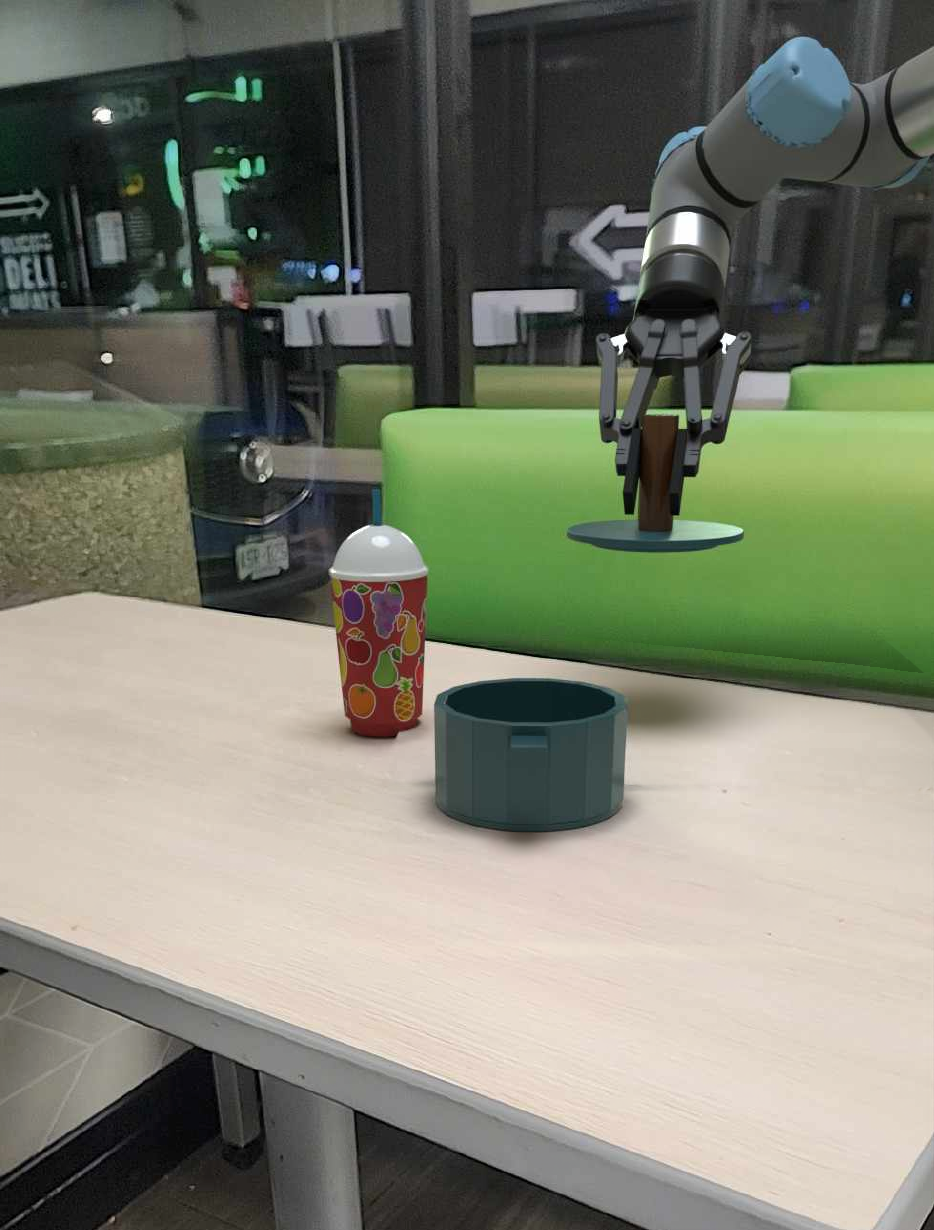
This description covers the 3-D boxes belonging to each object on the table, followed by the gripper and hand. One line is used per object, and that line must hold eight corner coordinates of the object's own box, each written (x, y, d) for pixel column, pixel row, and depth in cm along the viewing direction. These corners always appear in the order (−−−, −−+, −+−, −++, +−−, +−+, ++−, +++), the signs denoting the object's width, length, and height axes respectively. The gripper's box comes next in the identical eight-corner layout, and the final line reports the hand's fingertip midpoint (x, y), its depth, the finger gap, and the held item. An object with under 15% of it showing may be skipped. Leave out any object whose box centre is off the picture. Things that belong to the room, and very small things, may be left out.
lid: (731, 532, 114) (740, 410, 109) (754, 556, 100) (765, 417, 96) (566, 532, 115) (569, 411, 110) (567, 555, 101) (570, 418, 97)
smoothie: (416, 713, 116) (411, 483, 108) (443, 736, 109) (440, 492, 101) (327, 721, 113) (315, 487, 105) (349, 745, 106) (337, 496, 98)
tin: (615, 763, 101) (619, 670, 98) (629, 847, 84) (634, 737, 81) (446, 761, 102) (445, 668, 99) (425, 844, 85) (423, 735, 82)
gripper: (773, 318, 112) (751, 536, 104) (593, 321, 116) (558, 531, 108) (778, 246, 105) (754, 473, 97) (586, 251, 109) (548, 470, 101)
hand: (651, 503), depth 102 cm, fingers closed on lid, 3 cm apart
